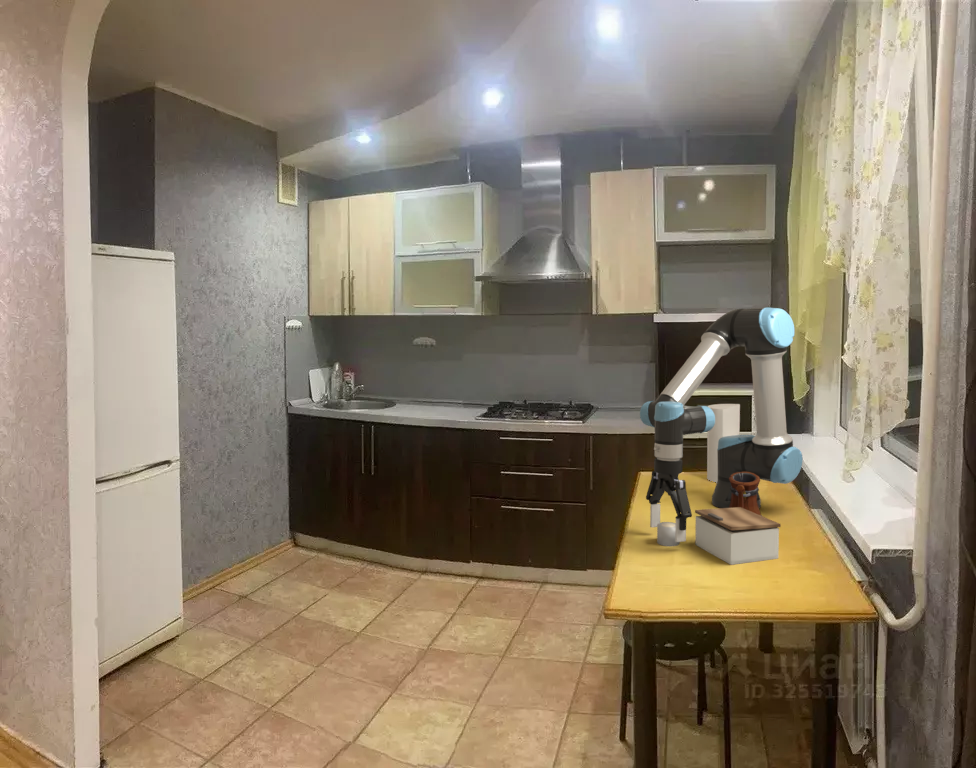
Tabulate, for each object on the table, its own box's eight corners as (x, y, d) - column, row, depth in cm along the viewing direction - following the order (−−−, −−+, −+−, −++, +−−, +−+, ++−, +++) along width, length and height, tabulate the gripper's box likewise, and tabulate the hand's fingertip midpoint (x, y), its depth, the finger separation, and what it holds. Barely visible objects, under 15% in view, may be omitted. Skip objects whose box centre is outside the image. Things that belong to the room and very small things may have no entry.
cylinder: (699, 481, 255) (700, 408, 252) (717, 472, 268) (717, 402, 266) (745, 487, 244) (746, 411, 241) (761, 478, 257) (762, 405, 254)
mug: (760, 537, 189) (761, 485, 188) (717, 532, 195) (718, 481, 193) (765, 520, 205) (766, 471, 204) (726, 515, 211) (726, 468, 209)
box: (739, 539, 188) (740, 511, 188) (778, 558, 173) (778, 528, 172) (695, 544, 185) (695, 516, 184) (730, 564, 169) (731, 533, 169)
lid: (740, 510, 188) (740, 505, 188) (780, 527, 172) (780, 521, 172) (694, 512, 184) (695, 507, 184) (731, 530, 168) (731, 524, 168)
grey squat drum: (672, 538, 191) (672, 520, 190) (683, 544, 185) (683, 526, 184) (653, 540, 189) (653, 522, 189) (664, 547, 183) (664, 529, 183)
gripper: (634, 450, 196) (634, 522, 198) (680, 468, 172) (679, 549, 174) (657, 449, 198) (657, 520, 200) (706, 466, 174) (705, 546, 176)
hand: (667, 533), depth 187 cm, fingers open, 13 cm apart
